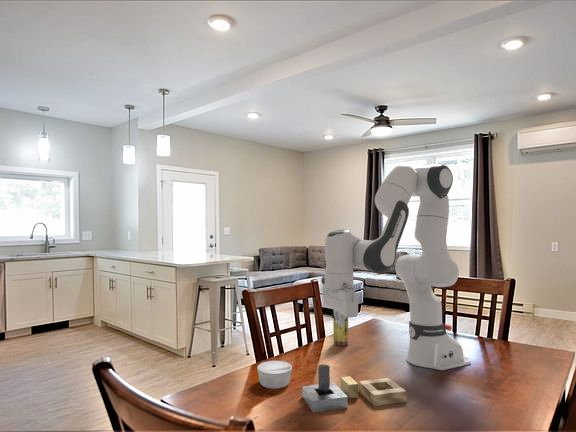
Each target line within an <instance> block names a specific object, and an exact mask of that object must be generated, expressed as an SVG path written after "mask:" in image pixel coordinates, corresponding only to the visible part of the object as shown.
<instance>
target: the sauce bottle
mask: <svg viewBox="0 0 576 432" xmlns="http://www.w3.org/2000/svg"><path fill="white" fill-rule="evenodd" d="M332 321H333V325H332V327H333V329H332V330H333V344H334V345H335V346H339V347H343V346H348V345H349V317H346V318H345V325H344V326H342V327H340V326H339V325H337V324H336V319H335V315H334V314H333V320H332Z"/></svg>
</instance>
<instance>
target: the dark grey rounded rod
mask: <svg viewBox="0 0 576 432" xmlns="http://www.w3.org/2000/svg"><path fill="white" fill-rule="evenodd" d="M317 369H318V375H317V376H318V380H317V382H318V384H317V385H318V394H319V396H321V395H329V394H330V383H331V381H330V379H331V378H330V377H331V376H330V375H331V374H330V372H331V371H330V365H329V364H319V365H318V368H317Z"/></svg>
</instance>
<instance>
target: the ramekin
mask: <svg viewBox="0 0 576 432" xmlns="http://www.w3.org/2000/svg"><path fill="white" fill-rule="evenodd" d="M256 370H257V373H258V374H257V375H258V381H259V383H260V385H261V386H262V387H264V388H266V389H270V390H271V389H272V390H274V389H281V388H285V387H287V386H288V385H289V383H290V382H291V375H292V370H293V366H292V365H291V363H289V362H287V361H282V360H268V361H264V362H261V363H259V364H258V365H257V369H256Z"/></svg>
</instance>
